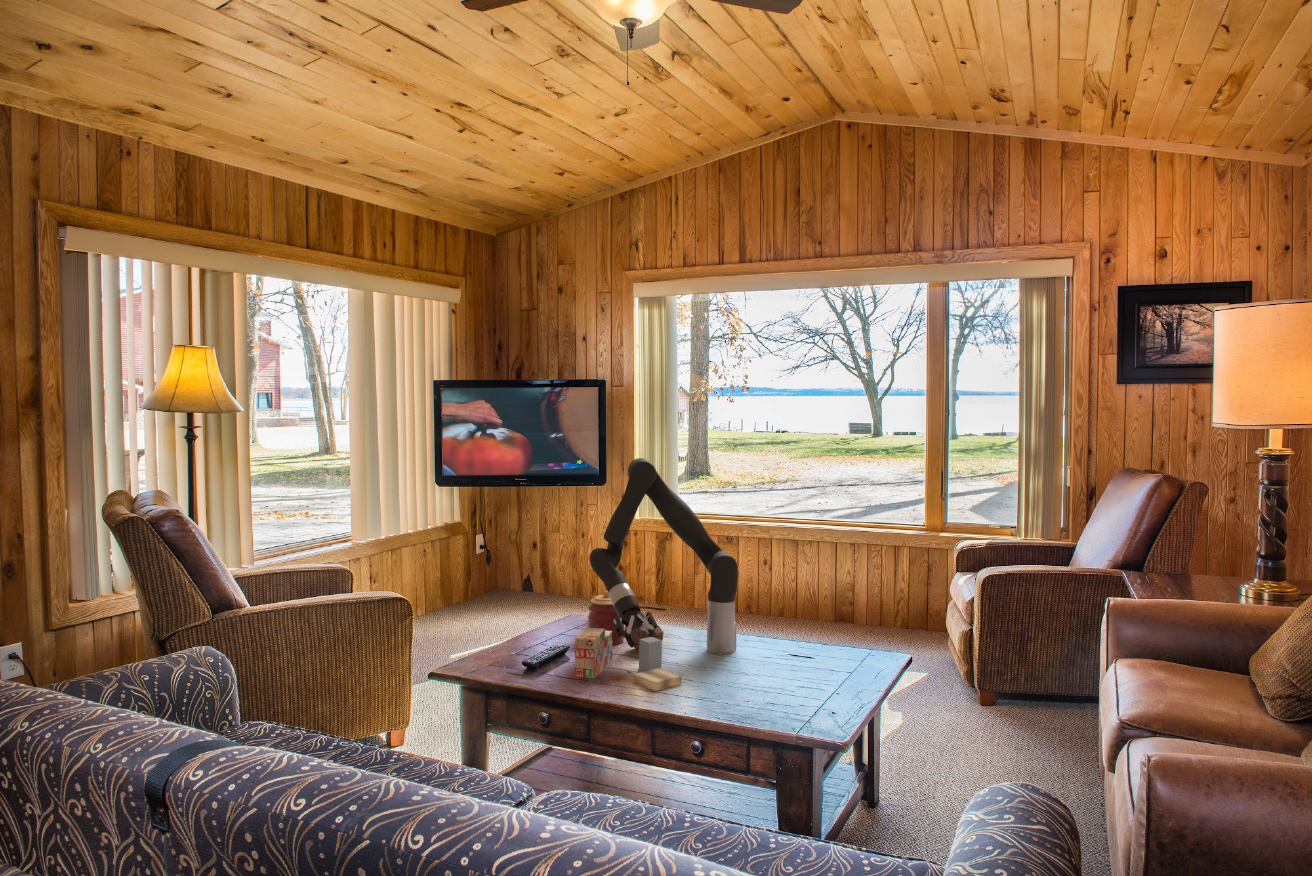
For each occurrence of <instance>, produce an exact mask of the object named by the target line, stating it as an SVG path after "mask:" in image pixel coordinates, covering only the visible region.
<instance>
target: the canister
mask: <svg viewBox="0 0 1312 876" xmlns="http://www.w3.org/2000/svg"><path fill="white" fill-rule="evenodd" d="M589 601H590V604H589V605H588V606H587V610H588V615H587V628H600V629H605V631H612V646H614V645H618V644H621V643H623V642H624V639H625V638H624V637H622V636H621V637H619V636H618V634H617V632H616V629H615V627H614V624H613V620H614V619H615V618H616V617H617V616H618V614H617V612H616V610H615V608H614V606H613V604H612V602H611V599H610V596H609V593H608V591H607V590H604V591H603V592H602V594H600V595H595V596H594V597H593V598H591V599H590V600H589ZM622 626H623V628H624V629H625V625H624V624H623V623H622Z"/></svg>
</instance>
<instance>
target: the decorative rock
mask: <svg viewBox="0 0 1312 876" xmlns="http://www.w3.org/2000/svg"><path fill="white" fill-rule="evenodd" d="M644 625H645V624H644V623H643V626H644ZM647 628H648V627H647ZM648 629H649V628H648ZM655 633H656V635H657V637H658V639H659V640H662V641H663V640H664V631H663V629H662V628H661V627H660V625H658V627H657V628H656V629H655ZM630 634H632V637H633V639H634V641H635V643H636V645H635V646H634V647H633V648H634V650H635V652H639V639H643V638H649V635H648V634H649V633H647V632H646V631H645V630H641V629H640V628H639V629H634V630H631V632H630Z"/></svg>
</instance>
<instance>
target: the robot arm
mask: <svg viewBox="0 0 1312 876" xmlns="http://www.w3.org/2000/svg"><path fill="white" fill-rule="evenodd" d="M627 476H628V477H627V478H628V480H627V483H626V488H625V491H624V493H623V495H622V498H621V500H620V501H619V503H618V505H617V507H616V508H615V510H614V512H613V514H612V515H611V518H610V520H609V521H608V524H607V526H606V529H605V532H604V533H603V540H604V541H606V542H607V547H606V548H602V547H596V548H594V549H592V550H591V552H590V553H589V564H590V566H591V569H592V570H593V572H594V573H595V574H596V575H597V577H598V578H599V579H600V581H601V582H602V583H603V584H604V587H605V589H606V591H608V593H609V596H610V599H611V602H612V604H613V606H614V608H615V610H616V612H617V614H618V616H617V617H616V618H615V619H614V620H613V624H614V627H615V629H616V632H617V634H618V636H619V637H621V636H622V637H624V639H625V640H626V644H627V645H628V646H629V647H630V649H633V648H634V646H635V645H636V643H635V641H634V639H633V637H632V634H630V632H631V630H634V629H639V628H640V629H641V630H645V631H646V632H647V633H649V634H648V635H649V637H654V638H657V639H658V637H657V635H656V633H655V629H656V628H657V627H658V626H659V625H658V623H657V621H656V620H655V617H654V616H653V615H652V612H651V611H647V613H643V612H642V610H641V606H640V604H639V601H638V600H637V598H636V596H635V594H634V591H633V590H632V588H631V587H630V585H629V583H628V581H627V579H626V577H625V575H624V573H623V572H622V571H621V570H619V569H617V567H619V564H620V562H621V559H622V553H623V549H624V541H625V540H626V538H627V536H628V533H629V530H630V529H631V525H632V523H633V521H634V518H635V515H636V514H637V511H638V509H639V507H640V504H642V501H643V499H644V497H645V496H646V497H648V498H649V499H650V501H652V503H653V505H654V506H655V508H656V510H657V511H658V512H659V514H660V516H661V517H662V519H663V520H664V522H666V524H667V525H668V527H670V528H671V530H672V532H673V533H675V534H676V535H677V537H679V538H680V539H681V541H683V542H684V544H685V545H687V546H688V547H689V548H690V549H691V550H692V551H693V552H694V553H695V554H696V555H697V557H698V558H699V560H700V561H701V562H702V564H703V565H704V567H705V568H706V570H707V572H708V573H709V575H710V584H709V586H710V587H709V590H708V591H707V592H708V593H707V614H706V615H707V616H706V617H707V619H706V620H707V624H706V625H707V626H706V651H708V652H709V653H712V654H716V655H717V654H718V655H720V654H721V655H726V654H732V653H734V651H737V629H738V627H737V626H738V624H737V621H735V620H736V619H735V618H736V616H735V615H736V595H737V591H738V579H739V575H738V574H739V570H738V569H739V568H738V562H737V560H736V559H735V558H734V557H733V556H732V555H730V554H729V553H727V552H726V551H724V549H722V547H720V546H719V545H718V544H717V543H716V542H715V541H714V539H712V538H711V536H710V535H709V534H708V532H707V530H706V528H705V526H704V525H703V523H702V522H701V520H700V518H699V517H698V516H697V514H696V513H695V512H694V511H693V510H692V509H691V508H690V506H689V505H688V504H687V502H685V501H684V500H683V499H682V498H681V497H680V496H679V495H678V494H677V493H676V492H675V491H673V489H671V487H669V485H667V484H666V482H665V481H664V480H663V478H662V476H661V475H660V474H659V472H658V470H657V469H656V467H655V465H654V464H653V463H652V461H650V460H649V459H647V458H643V457H642V458H641V457H639V458H635V459H633V460H632V461H631V462H630V463H629V465H628V468H627ZM622 623H623V624H624V628H623V626H622ZM643 624H645V625H644V626H643ZM647 627H648V628H649V629H648V628H647Z"/></svg>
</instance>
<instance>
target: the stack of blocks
mask: <svg viewBox="0 0 1312 876" xmlns="http://www.w3.org/2000/svg"><path fill="white" fill-rule="evenodd" d="M574 643H575V648H574V678H579V679H580V678H582V679H590V680H591V679H593V680H594V679H596V677H597V676H599V674H600V673H601V672H602V671H603V669H605V667H606V666H607V665H608V664H609V663H610V662H611V661H612V660H613V645H612V631H605V629H600V628H588V627H586V628H585V629H584V630H582V631H581V632H580V634H578V635H577V636H576V637H575V642H574Z"/></svg>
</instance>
